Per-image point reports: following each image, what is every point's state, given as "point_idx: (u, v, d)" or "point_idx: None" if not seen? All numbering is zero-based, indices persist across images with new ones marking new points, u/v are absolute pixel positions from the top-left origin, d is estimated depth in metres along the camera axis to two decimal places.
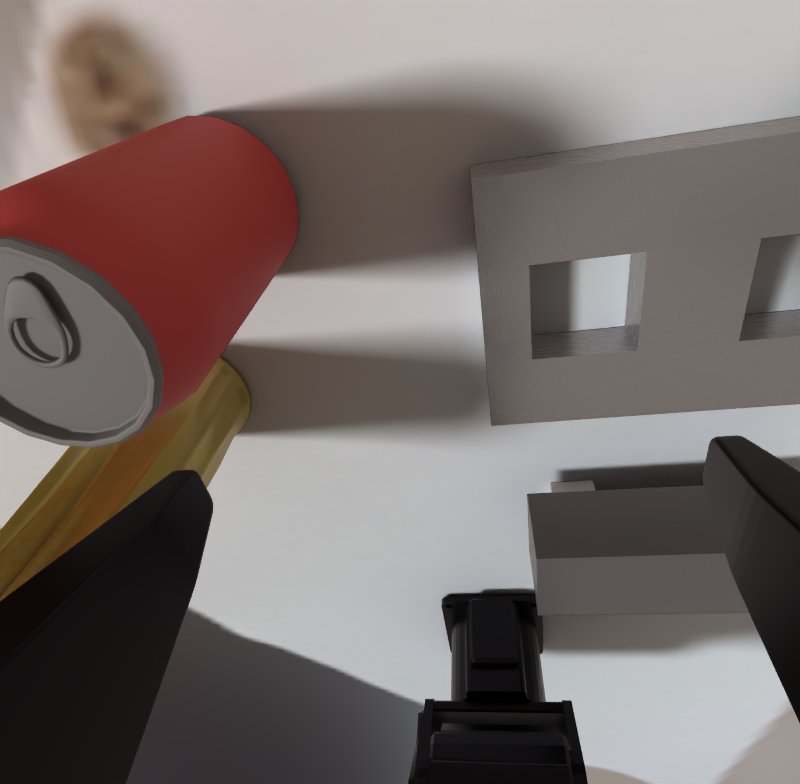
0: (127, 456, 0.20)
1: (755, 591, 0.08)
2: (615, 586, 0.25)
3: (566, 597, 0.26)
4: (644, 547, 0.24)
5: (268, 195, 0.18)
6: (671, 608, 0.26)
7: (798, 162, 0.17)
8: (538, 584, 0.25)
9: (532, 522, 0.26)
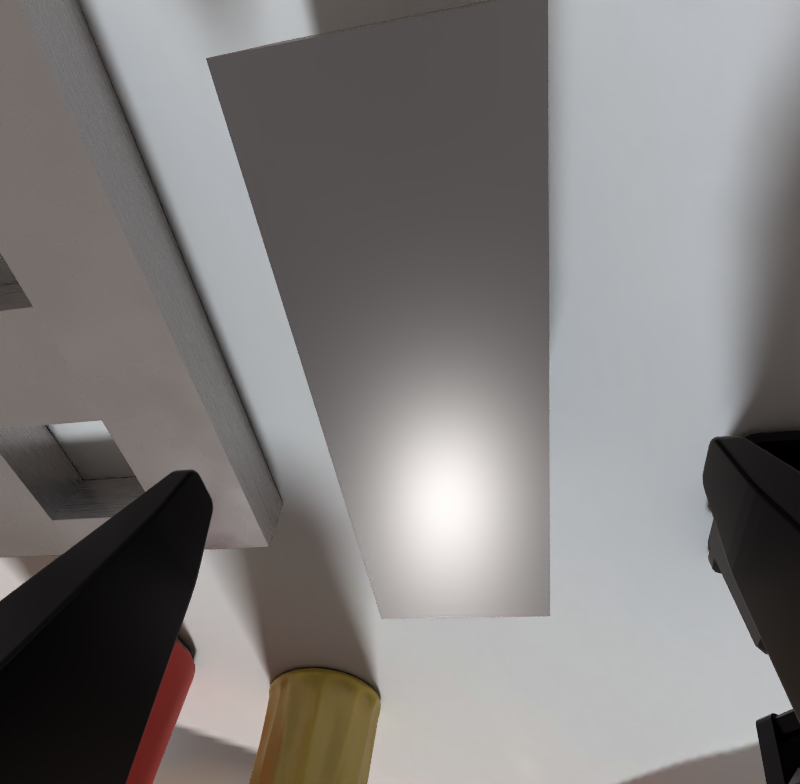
0: None
1: (755, 591, 0.08)
2: (447, 528, 0.12)
3: (489, 586, 0.13)
4: None
5: None
6: (526, 432, 0.10)
7: None
8: (451, 616, 0.14)
9: None
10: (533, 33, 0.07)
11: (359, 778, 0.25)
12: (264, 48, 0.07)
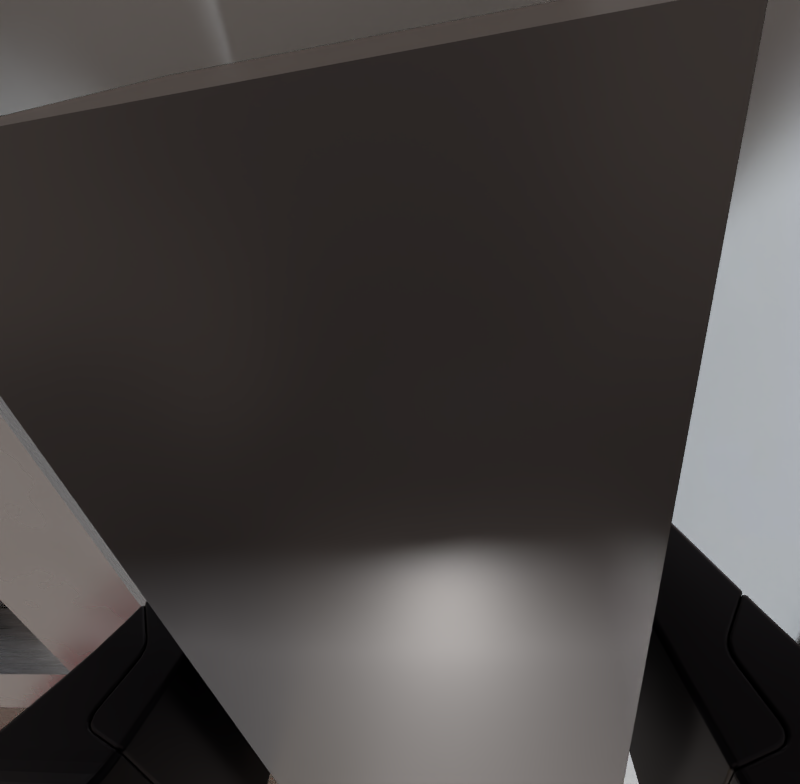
0: None
1: None
2: None
3: None
4: None
5: None
6: (588, 754, 0.06)
7: None
8: None
9: None
10: (706, 104, 0.02)
11: None
12: None
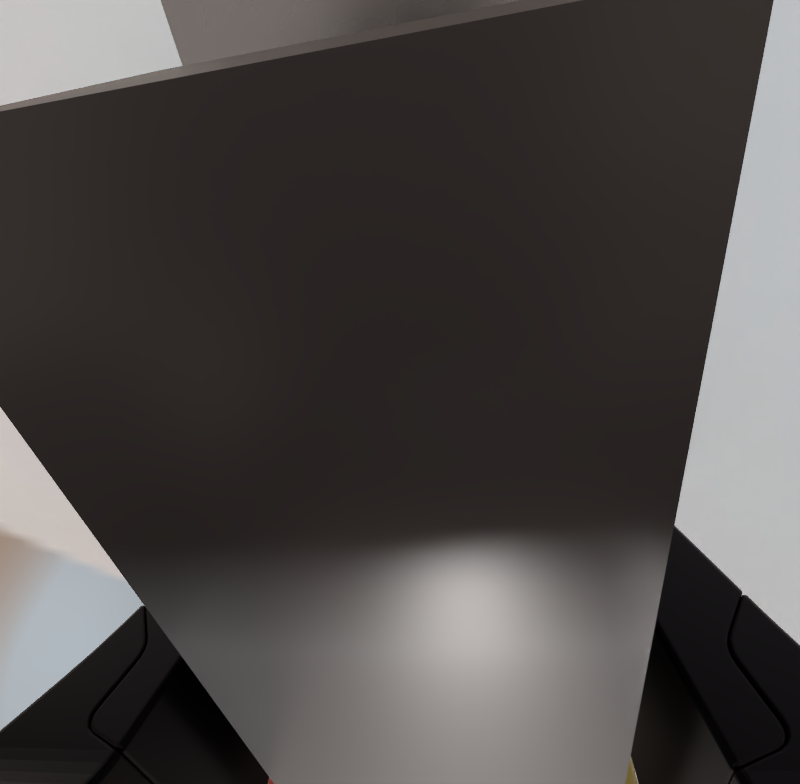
0: None
1: None
2: None
3: None
4: None
5: None
6: (589, 757, 0.06)
7: None
8: None
9: None
10: (712, 90, 0.02)
11: None
12: None
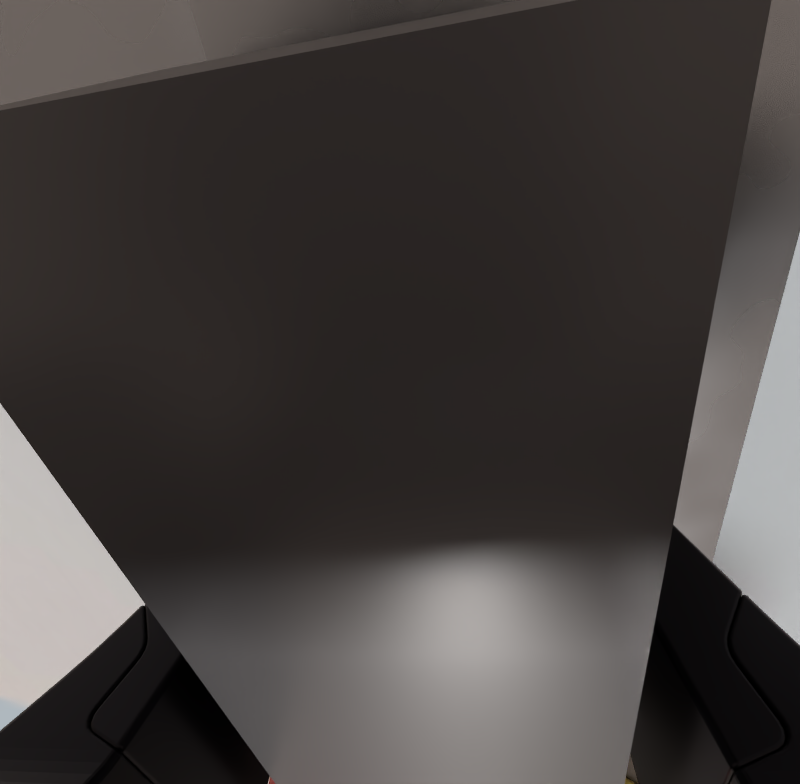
0: None
1: None
2: None
3: None
4: None
5: None
6: (589, 755, 0.06)
7: None
8: None
9: None
10: (711, 89, 0.02)
11: None
12: None
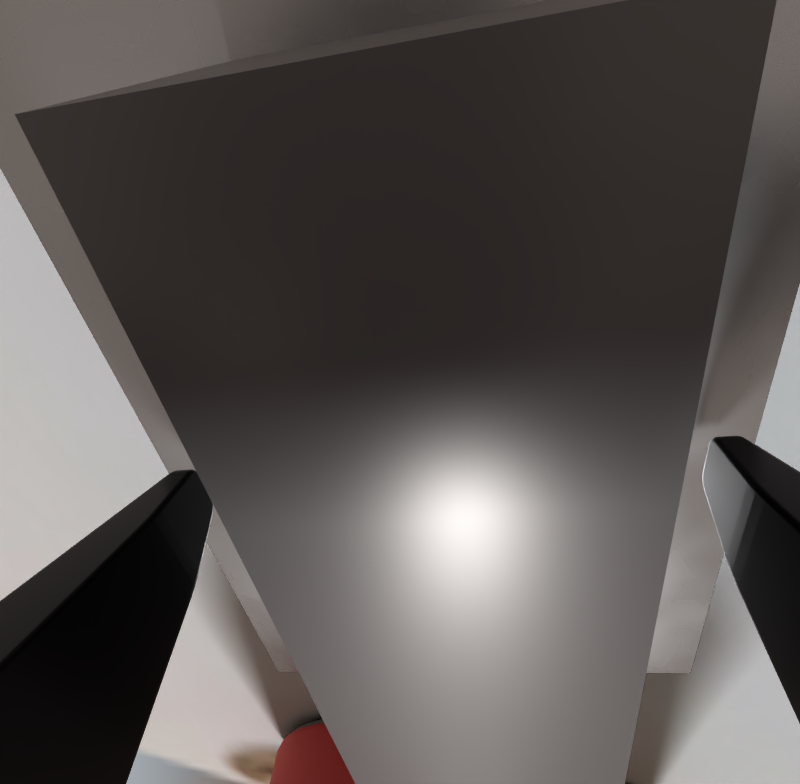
0: None
1: (755, 591, 0.08)
2: (477, 762, 0.08)
3: None
4: None
5: None
6: (609, 675, 0.07)
7: None
8: None
9: None
10: (730, 67, 0.03)
11: None
12: (131, 95, 0.03)
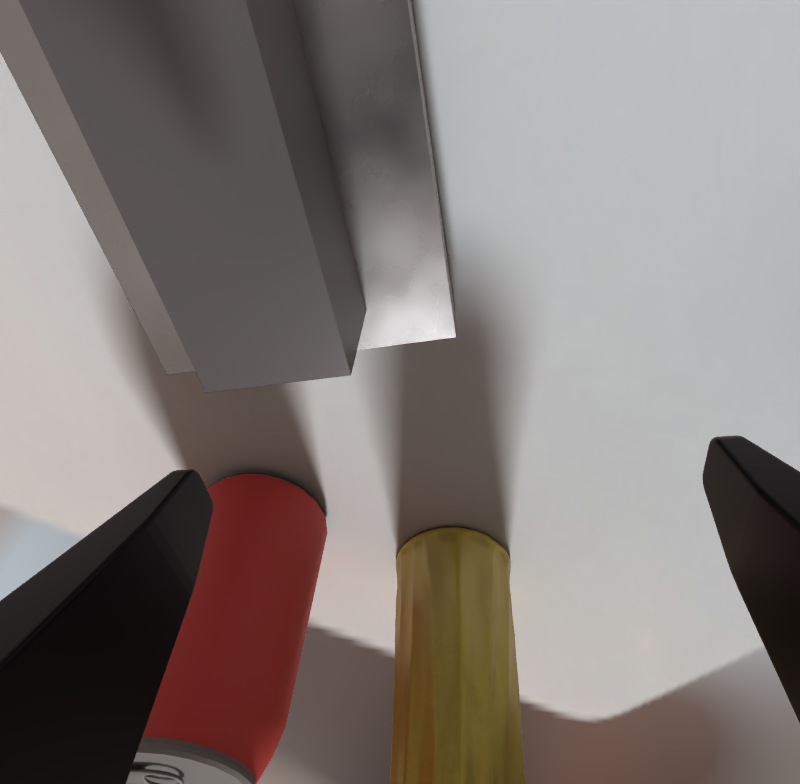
0: (399, 693, 0.23)
1: (755, 591, 0.08)
2: (231, 269, 0.14)
3: (288, 341, 0.15)
4: None
5: None
6: (266, 143, 0.12)
7: (31, 47, 0.14)
8: (265, 383, 0.15)
9: None
10: None
11: (509, 622, 0.25)
12: None
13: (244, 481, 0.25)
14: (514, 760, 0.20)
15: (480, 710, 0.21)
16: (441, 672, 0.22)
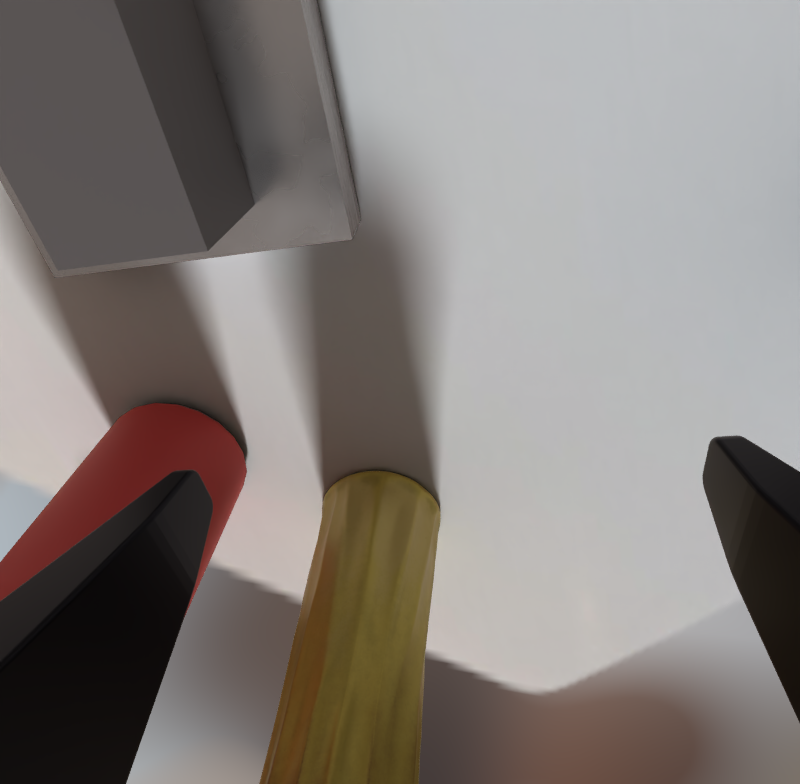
0: (299, 631, 0.21)
1: (755, 591, 0.08)
2: (61, 115, 0.12)
3: (134, 207, 0.13)
4: None
5: (105, 446, 0.22)
6: None
7: None
8: (118, 260, 0.14)
9: None
10: None
11: (426, 567, 0.24)
12: None
13: (154, 409, 0.24)
14: (407, 699, 0.19)
15: (375, 646, 0.20)
16: (340, 608, 0.21)
